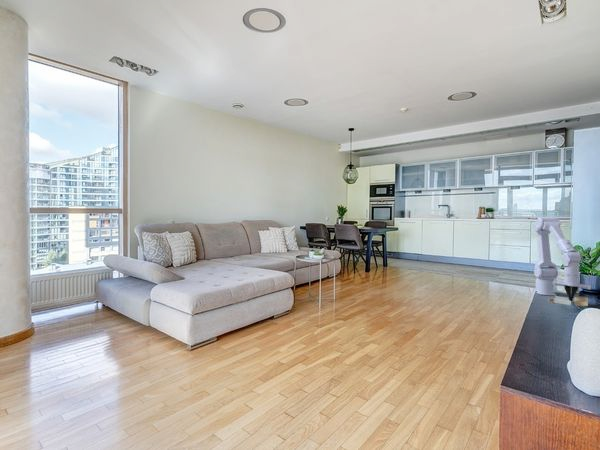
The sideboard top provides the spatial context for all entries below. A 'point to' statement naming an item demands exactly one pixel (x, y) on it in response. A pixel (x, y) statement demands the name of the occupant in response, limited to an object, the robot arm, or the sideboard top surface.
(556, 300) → the acrylic channel
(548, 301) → the trap plate
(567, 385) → the sideboard top surface
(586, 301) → the maple block
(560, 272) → the supplement box
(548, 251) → the robot arm
